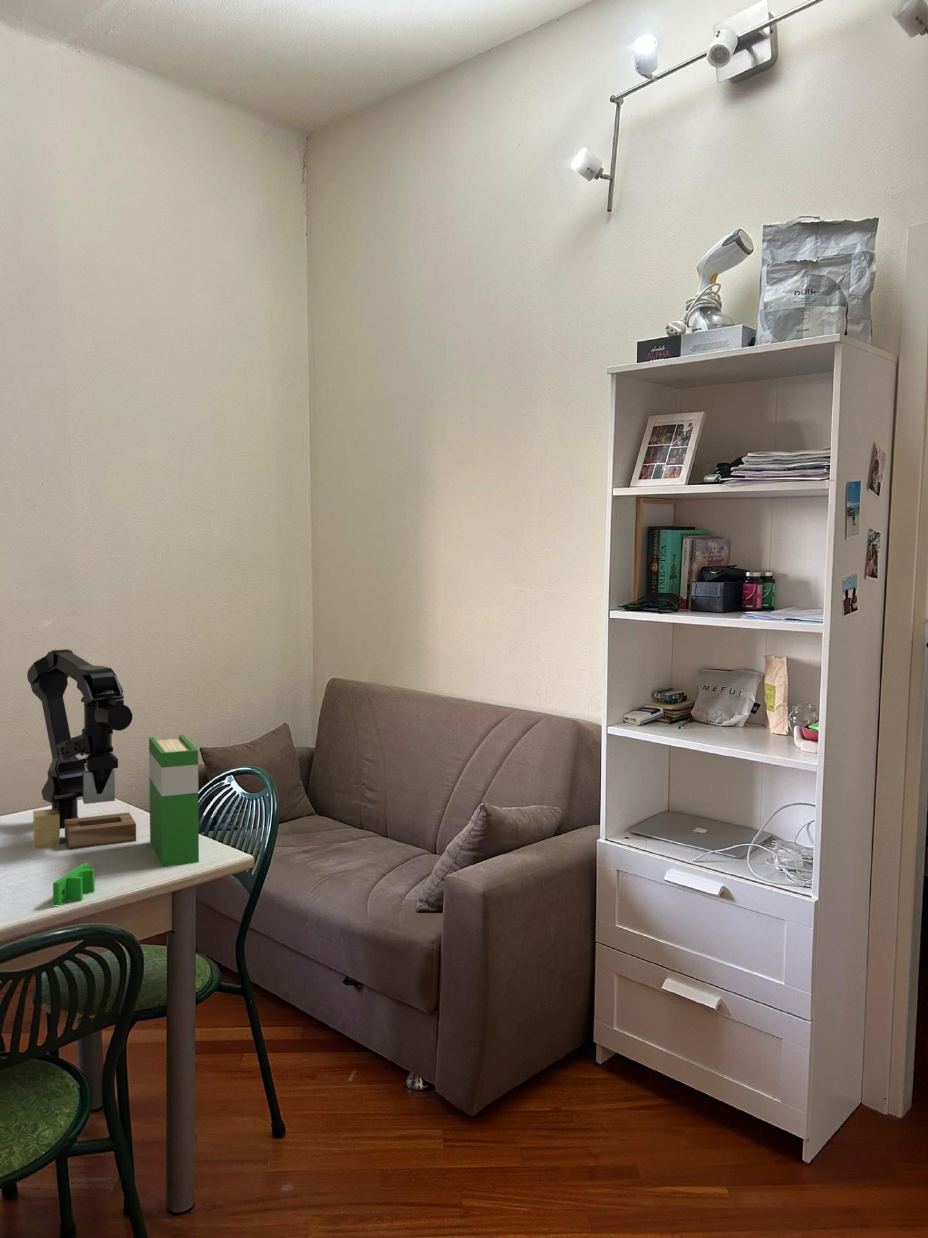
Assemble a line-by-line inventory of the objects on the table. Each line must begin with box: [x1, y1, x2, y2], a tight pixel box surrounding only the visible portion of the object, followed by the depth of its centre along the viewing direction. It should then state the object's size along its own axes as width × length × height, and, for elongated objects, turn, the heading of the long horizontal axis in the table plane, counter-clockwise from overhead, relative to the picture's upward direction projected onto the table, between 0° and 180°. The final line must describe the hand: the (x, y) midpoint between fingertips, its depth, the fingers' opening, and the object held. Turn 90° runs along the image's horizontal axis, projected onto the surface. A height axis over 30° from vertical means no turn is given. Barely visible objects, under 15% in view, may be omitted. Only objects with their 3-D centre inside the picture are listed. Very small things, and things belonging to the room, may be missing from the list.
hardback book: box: [148, 734, 200, 868], centre depth 203 cm, size 18×7×24 cm, turn 26°
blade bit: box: [82, 768, 116, 805], centre depth 211 cm, size 2×6×7 cm, turn 118°
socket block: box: [64, 811, 137, 850], centre depth 212 cm, size 10×14×4 cm
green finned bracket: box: [52, 862, 96, 906], centre depth 177 cm, size 11×4×5 cm, turn 173°
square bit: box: [32, 808, 61, 849], centre depth 208 cm, size 5×5×7 cm
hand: (98, 792), depth 211 cm, fingers closed on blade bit, 2 cm apart
